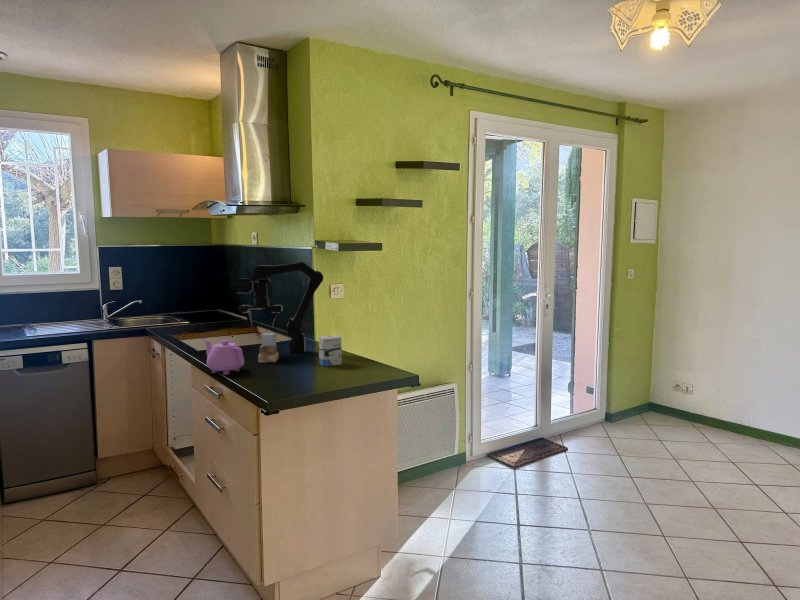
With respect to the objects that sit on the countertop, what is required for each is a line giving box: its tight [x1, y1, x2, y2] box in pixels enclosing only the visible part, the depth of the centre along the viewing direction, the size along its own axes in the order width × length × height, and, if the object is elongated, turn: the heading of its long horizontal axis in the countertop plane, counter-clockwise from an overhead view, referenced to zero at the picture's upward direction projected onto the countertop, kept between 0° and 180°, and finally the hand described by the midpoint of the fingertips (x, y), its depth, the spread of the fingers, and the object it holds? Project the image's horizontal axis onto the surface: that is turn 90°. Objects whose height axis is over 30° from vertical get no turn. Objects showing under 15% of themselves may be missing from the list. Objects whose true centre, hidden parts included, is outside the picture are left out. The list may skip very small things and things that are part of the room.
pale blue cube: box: [261, 332, 277, 346], centre depth 239 cm, size 5×5×5 cm
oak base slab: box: [257, 351, 279, 363], centre depth 240 cm, size 7×7×4 cm
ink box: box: [318, 334, 343, 367], centre depth 233 cm, size 8×5×12 cm, turn 118°
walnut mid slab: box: [259, 343, 278, 355], centre depth 239 cm, size 6×6×4 cm
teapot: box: [203, 338, 245, 376], centre depth 220 cm, size 20×14×12 cm
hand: (261, 327), depth 254 cm, fingers open, 9 cm apart
